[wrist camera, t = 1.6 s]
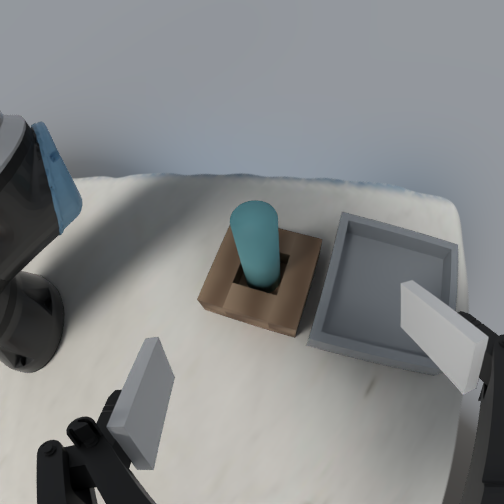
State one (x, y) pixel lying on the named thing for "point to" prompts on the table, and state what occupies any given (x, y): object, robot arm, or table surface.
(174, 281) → the table surface
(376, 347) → the tray
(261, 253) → the ball
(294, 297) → the hole block
